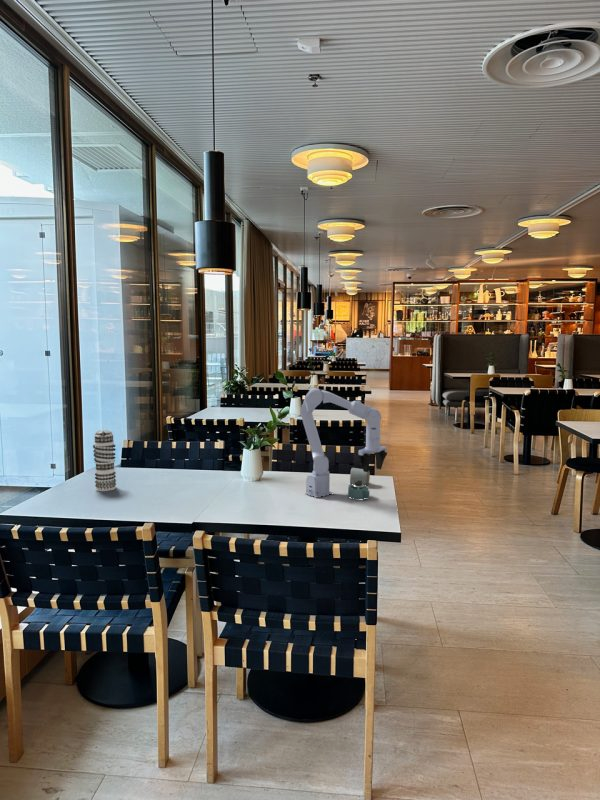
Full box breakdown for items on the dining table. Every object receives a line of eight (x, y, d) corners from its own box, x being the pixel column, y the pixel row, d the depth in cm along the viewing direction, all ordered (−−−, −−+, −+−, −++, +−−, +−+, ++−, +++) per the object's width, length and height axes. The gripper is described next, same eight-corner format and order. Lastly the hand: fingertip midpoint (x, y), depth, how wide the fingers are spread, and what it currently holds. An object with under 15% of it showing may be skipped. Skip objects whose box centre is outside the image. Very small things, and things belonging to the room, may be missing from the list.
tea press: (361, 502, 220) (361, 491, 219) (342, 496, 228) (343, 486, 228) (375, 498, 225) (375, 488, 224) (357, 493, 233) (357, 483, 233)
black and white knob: (358, 498, 223) (358, 482, 222) (348, 495, 227) (348, 480, 227) (367, 495, 226) (368, 480, 226) (358, 492, 231) (358, 478, 230)
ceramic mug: (368, 488, 241) (368, 470, 240) (349, 486, 243) (349, 469, 242) (370, 482, 251) (370, 465, 251) (352, 481, 253) (352, 464, 252)
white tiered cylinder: (102, 492, 233) (100, 433, 230) (90, 489, 238) (87, 431, 236) (121, 488, 240) (119, 430, 237) (108, 484, 246) (106, 428, 243)
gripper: (367, 441, 220) (366, 474, 222) (392, 437, 229) (391, 469, 231) (355, 438, 226) (354, 471, 227) (379, 435, 235) (379, 466, 236)
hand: (372, 470), depth 229 cm, fingers open, 7 cm apart
